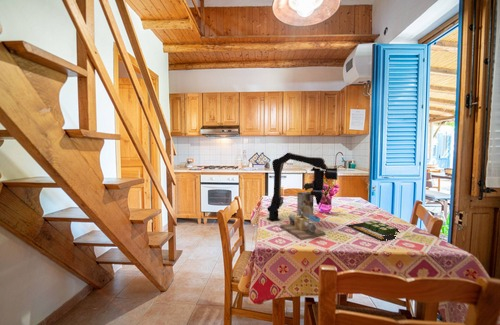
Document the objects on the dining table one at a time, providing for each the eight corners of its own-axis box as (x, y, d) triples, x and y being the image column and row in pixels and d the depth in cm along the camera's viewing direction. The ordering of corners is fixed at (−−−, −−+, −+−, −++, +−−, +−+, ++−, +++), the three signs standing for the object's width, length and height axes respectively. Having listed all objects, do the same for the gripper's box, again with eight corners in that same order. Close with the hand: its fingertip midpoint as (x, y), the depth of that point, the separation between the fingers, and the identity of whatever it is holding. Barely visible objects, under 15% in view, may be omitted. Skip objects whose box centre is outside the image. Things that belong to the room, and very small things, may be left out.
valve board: (279, 227, 134) (280, 211, 134) (301, 223, 141) (302, 208, 140) (301, 240, 116) (301, 222, 116) (325, 235, 123) (325, 218, 122)
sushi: (345, 226, 138) (345, 220, 138) (375, 222, 147) (375, 216, 147) (382, 243, 115) (382, 236, 115) (415, 236, 124) (416, 230, 124)
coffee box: (308, 214, 161) (309, 191, 160) (313, 216, 155) (314, 193, 154) (296, 215, 159) (297, 192, 158) (301, 217, 153) (301, 194, 152)
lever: (298, 214, 129) (298, 211, 129) (302, 213, 130) (302, 210, 130) (315, 222, 115) (315, 218, 115) (320, 221, 117) (320, 217, 117)
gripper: (307, 176, 147) (307, 199, 148) (301, 179, 130) (301, 206, 131) (325, 177, 142) (325, 201, 144) (322, 181, 126) (321, 209, 127)
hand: (317, 204), depth 136 cm, fingers closed
